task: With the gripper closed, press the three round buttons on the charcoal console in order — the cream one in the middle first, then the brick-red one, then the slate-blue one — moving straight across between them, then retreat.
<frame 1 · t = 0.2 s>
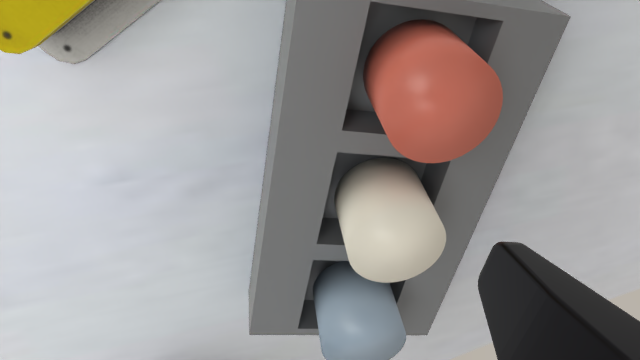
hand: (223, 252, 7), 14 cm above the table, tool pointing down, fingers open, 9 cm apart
cream button: (386, 219, 21), point 4 cm above the table, slide at 0.0 cm
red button: (427, 90, 18), point 4 cm above the table, slide at 0.0 cm
console: (366, 167, 24), on the table
blue button: (356, 313, 24), point 4 cm above the table, slide at 0.0 cm
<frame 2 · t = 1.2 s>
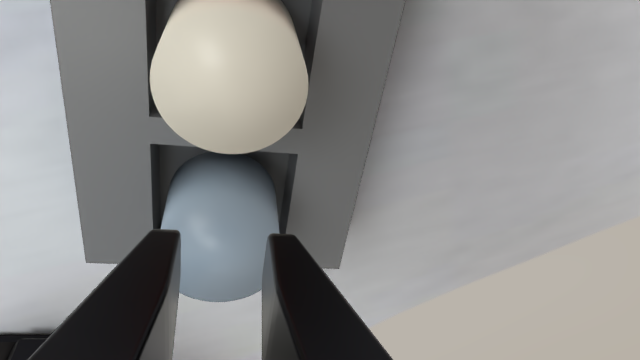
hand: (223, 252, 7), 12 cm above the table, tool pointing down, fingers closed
cream button: (232, 62, 14), point 4 cm above the table, slide at 0.0 cm
console: (233, 21, 17), on the table
blue button: (221, 225, 17), point 4 cm above the table, slide at 0.0 cm
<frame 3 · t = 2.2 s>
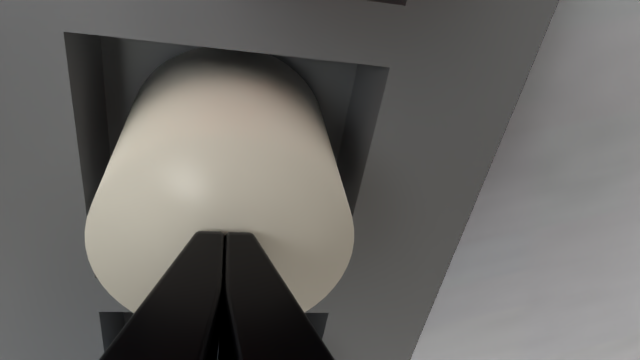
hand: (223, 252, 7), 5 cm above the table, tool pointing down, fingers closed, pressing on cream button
cream button: (228, 184, 9), point 3 cm above the table, slide at 1.0 cm, touching gripper
console: (230, 110, 11), on the table
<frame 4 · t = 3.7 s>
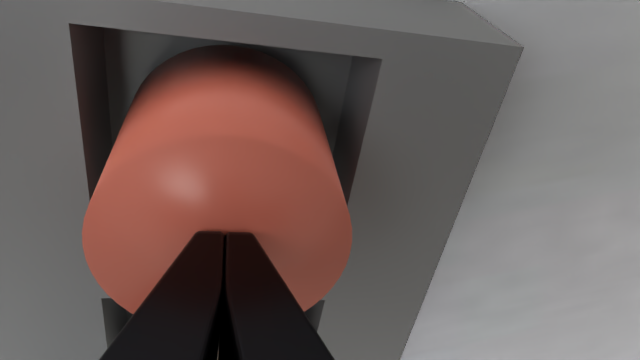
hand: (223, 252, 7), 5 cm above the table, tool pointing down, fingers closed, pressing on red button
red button: (226, 184, 9), point 3 cm above the table, slide at 0.6 cm, touching gripper
console: (217, 281, 15), on the table
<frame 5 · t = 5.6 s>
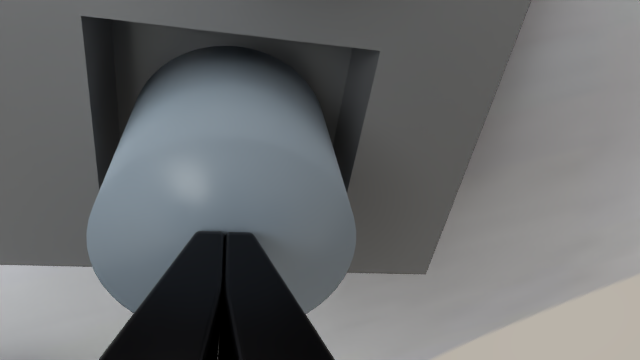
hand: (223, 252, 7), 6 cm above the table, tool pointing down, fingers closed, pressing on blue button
blue button: (229, 185, 9), point 4 cm above the table, slide at 0.2 cm, touching gripper
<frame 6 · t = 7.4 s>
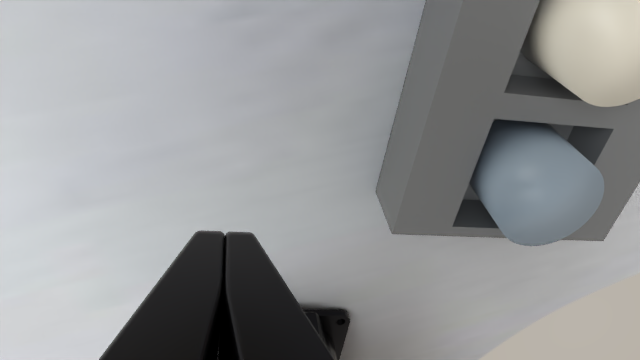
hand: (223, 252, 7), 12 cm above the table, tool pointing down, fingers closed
cream button: (597, 28, 16), point 3 cm above the table, slide at 1.1 cm
console: (552, 5, 19), on the table
blue button: (528, 178, 19), point 3 cm above the table, slide at 1.1 cm
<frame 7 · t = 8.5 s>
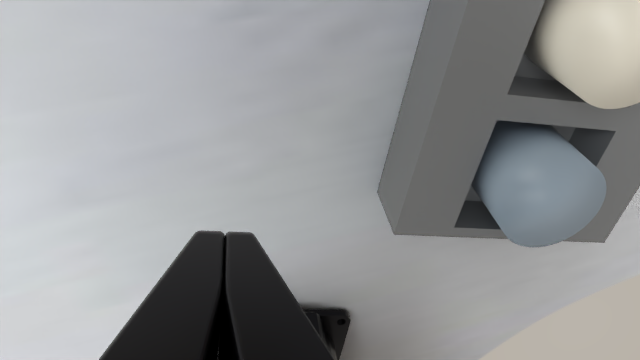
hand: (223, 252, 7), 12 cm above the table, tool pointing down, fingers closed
cream button: (601, 31, 16), point 3 cm above the table, slide at 1.1 cm
console: (555, 7, 19), on the table
blue button: (530, 180, 19), point 3 cm above the table, slide at 1.1 cm
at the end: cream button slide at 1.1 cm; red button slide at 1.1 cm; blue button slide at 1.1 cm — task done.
